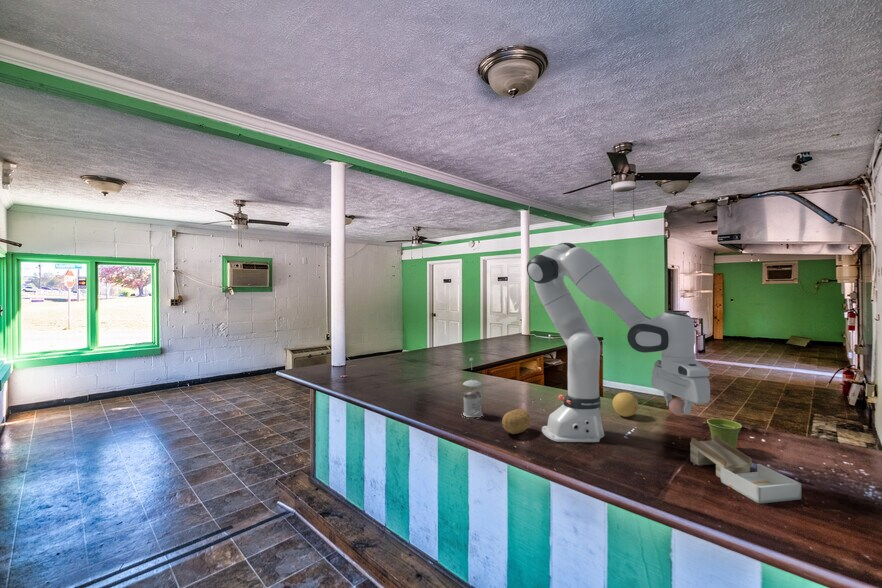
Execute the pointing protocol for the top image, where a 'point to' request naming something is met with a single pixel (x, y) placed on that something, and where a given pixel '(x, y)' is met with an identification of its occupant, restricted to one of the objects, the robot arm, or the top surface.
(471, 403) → the french press
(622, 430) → the top surface
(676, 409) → the rubber ball
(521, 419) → the potato
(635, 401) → the stress ball
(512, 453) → the top surface
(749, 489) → the tray
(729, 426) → the plant pot
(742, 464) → the launch ramp
